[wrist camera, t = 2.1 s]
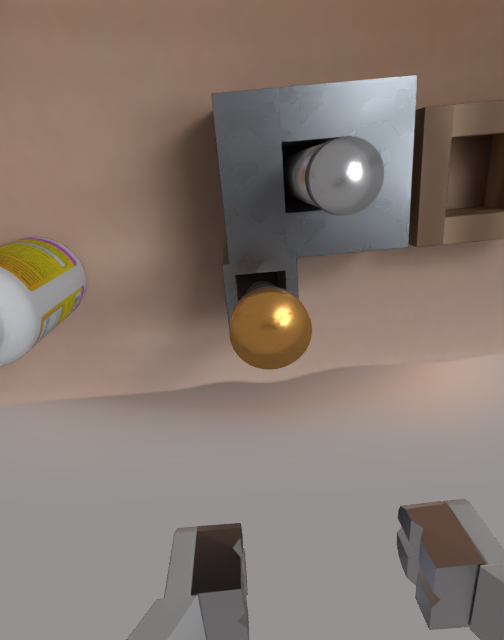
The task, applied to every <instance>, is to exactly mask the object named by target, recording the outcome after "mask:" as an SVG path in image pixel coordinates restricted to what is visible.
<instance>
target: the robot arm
mask: <svg viewBox="0 0 504 640" xmlns="http://www.w3.org/2000/svg"><path fill="white" fill-rule="evenodd" d="M398 519H399V522H400V524H401V526H402V528H401V529H400V530H399V531H398V532H397V548H398V553H399V558H400V561H401V564H402V567H403V569H404V572H405V575H406V577H407V578H408V579H409V580H410V581H411V582H413V583H414V584H415V585H416V600H417V603H418V605H419V607H420V609H421V612H422V614H423V616H424V618H425V621H426V623H427V625H428V628H429V630H433V629H447V628H460V627H470V630H471V631H472V632H473V633H474V634H475V635H476V636H477V637H479V638H480V639H481V640H504V549H503V548H502V547H501V545H500V543H499V542H498V541H497V539H496V538H495V537H494V535H493V534H492V533H491V531H490V530H489V528H488V527H487V526H486V524H485V523H484V522H483V520H482V519H481V517H480V516H479V515H478V513H477V512H476V511H475V509H474V508H473V507H472V505H471V504H470V502H468V501H467V500H465V499H460V500H450V501H443V502H441V501H439V502H430V503H421V504H413V505H404V506H400V508H399V511H398ZM246 575H247V574H246V561H245V551H244V548H243V537H242V529H241V524H240V523H235V524H221V525H208V526H198V527H186V528H177V529H176V532H175V534H174V539H173V544H172V551H171V557H170V563H169V569H168V575H167V581H166V588H165V594H164V599H157V600H156V601H155V603H154V604H153V605H152V607H151V608H150V609H149V611H148V612H147V613H146V614H145V616H144V617H143V618H142V620H141V621H140V623H139V624H138V625H137V626H136V628H135V629H134V630H133V632H132V633H131V634H130V636H129V637H128V638H127V639H126V640H249V621H248V609H247V601H246V596H247V595H248V593H247V576H246Z"/></svg>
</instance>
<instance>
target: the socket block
mask: <svg viewBox="0 0 504 640" xmlns="http://www.w3.org/2000/svg"><path fill="white" fill-rule="evenodd" d="M416 90H417V75H413V76H402V77H391V78H380V79H368V80H357V81H346V82H335V83H323V84H312V85H301V86H289V87H278V88H267V89H256V90H244V91H233V92H222V93H211V96H212V105H213V115H214V124H215V133H216V143H217V152H218V161H219V171H220V180H221V189H222V199H223V208H224V217H225V227H226V236H227V245H228V248H224V251H223V260H222V269H223V278H224V286H225V295H226V304H227V313H228V322H229V330H230V318H231V314H232V311H233V309H234V307H235V305H236V304H237V303H238V301H239V300H240V299H241V298H242V297H239V295H238V285H237V275H242V274H252V273H263V272H273V271H277V273H278V288H282V289H285V290H287V291H289V292H291V293H292V294H294V295H295V296H296V297H297V298H298V299H299V295H298V274H297V257H307V256H318V255H328V254H339V253H349V252H360V251H370V250H381V249H391V248H402V247H408V240H409V221H410V202H411V184H412V165H413V146H414V127H415V108H416ZM343 136H354V137H359V138H362V139H364V140H366V141H368V142H370V143H371V144H372V145H373V146H374V147H375V148H376V149H377V150H378V152H379V154H380V156H381V158H382V161H383V165H384V180H383V185H382V188H381V190H380V192H379V194H378V196H377V197H376V199H375V200H374V201H373V202H372V203H371V204H370V205H369V206H368V207H367V208H366V209H364V210H362V211H361V212H358V213H356V214H352V215H345V216H339V215H333V214H330V213H328V212H325V211H323V210H322V209H320V208H319V207H316V206H314V205H311V204H309V203H304V204H293V205H285V198H284V179H283V161H282V147H287V146H298V145H309V144H320V143H326V142H327V141H330V140H332V139H335V138H338V137H343Z"/></svg>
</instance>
